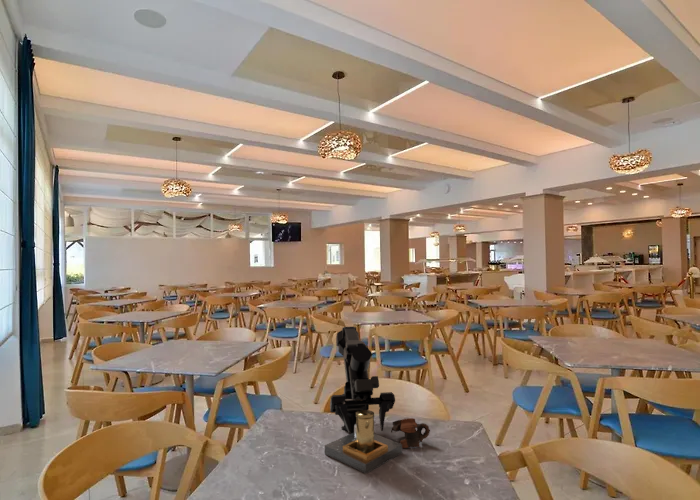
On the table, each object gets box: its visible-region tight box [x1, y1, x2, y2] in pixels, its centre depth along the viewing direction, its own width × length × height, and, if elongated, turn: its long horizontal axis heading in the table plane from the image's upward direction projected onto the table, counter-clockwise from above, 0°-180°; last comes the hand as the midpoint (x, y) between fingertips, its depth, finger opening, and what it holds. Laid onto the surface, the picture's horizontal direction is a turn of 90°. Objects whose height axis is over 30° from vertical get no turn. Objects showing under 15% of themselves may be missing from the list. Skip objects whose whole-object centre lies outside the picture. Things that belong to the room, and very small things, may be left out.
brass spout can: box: [356, 410, 375, 454], centre depth 114 cm, size 8×5×13 cm
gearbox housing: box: [324, 424, 403, 474], centre depth 119 cm, size 16×16×6 cm
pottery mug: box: [390, 417, 431, 449], centre depth 127 cm, size 12×10×8 cm
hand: (366, 431), depth 114 cm, fingers open, 9 cm apart
